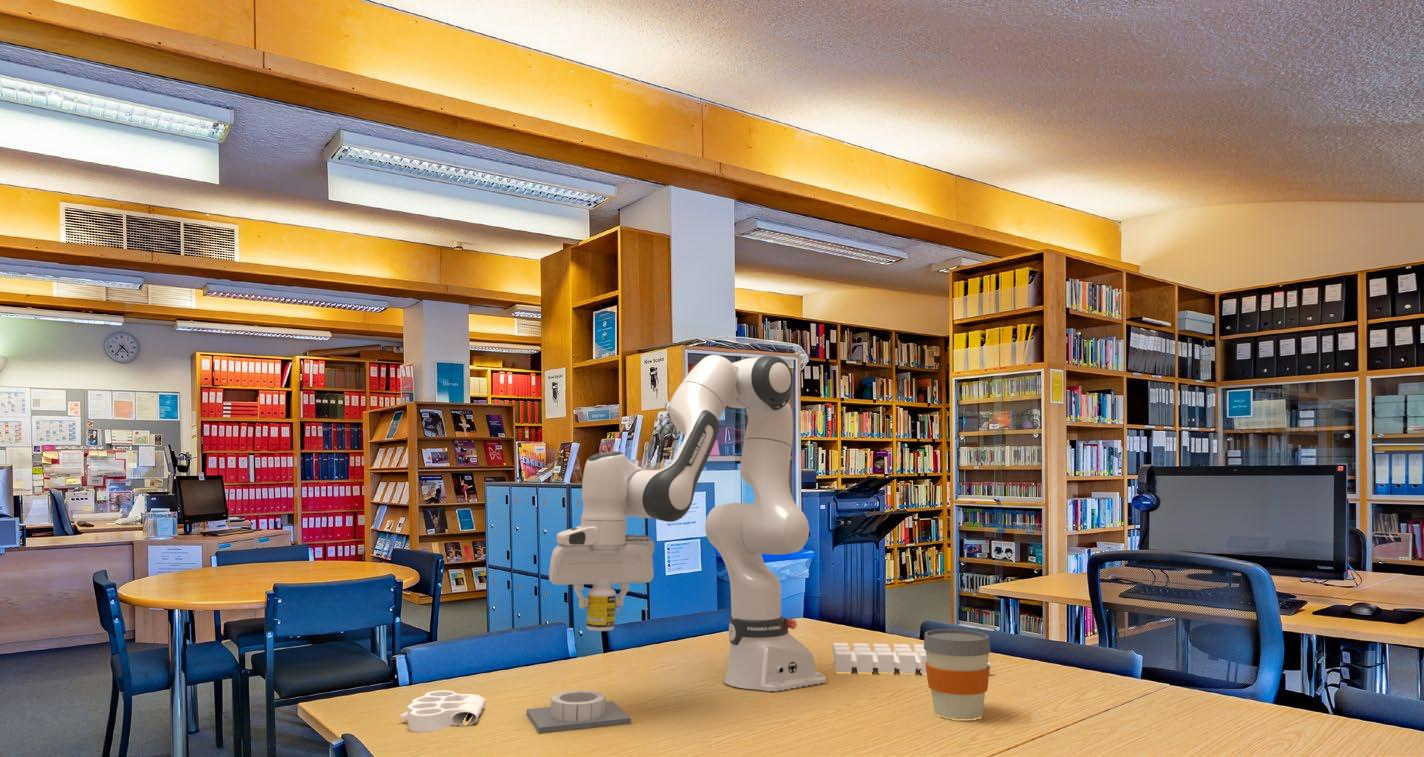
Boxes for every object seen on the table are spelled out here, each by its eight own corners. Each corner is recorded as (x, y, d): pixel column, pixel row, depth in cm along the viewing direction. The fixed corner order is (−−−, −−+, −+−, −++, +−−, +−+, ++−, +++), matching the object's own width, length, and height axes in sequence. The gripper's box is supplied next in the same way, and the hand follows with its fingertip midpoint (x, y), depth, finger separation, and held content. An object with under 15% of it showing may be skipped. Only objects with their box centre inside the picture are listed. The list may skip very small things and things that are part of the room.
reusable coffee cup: (993, 709, 177) (991, 631, 178) (991, 726, 165) (989, 643, 166) (928, 703, 181) (926, 627, 182) (921, 720, 169) (919, 638, 170)
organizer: (833, 642, 219) (979, 645, 216) (833, 663, 219) (980, 666, 216) (835, 654, 206) (991, 657, 203) (836, 675, 206) (992, 678, 203)
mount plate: (612, 705, 178) (613, 685, 179) (631, 723, 166) (631, 701, 167) (526, 714, 172) (527, 693, 173) (539, 733, 160) (539, 710, 161)
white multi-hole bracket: (474, 732, 162) (390, 735, 160) (487, 706, 180) (411, 708, 178) (474, 713, 162) (390, 716, 161) (487, 688, 180) (412, 690, 178)
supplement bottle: (609, 632, 170) (611, 579, 171) (582, 630, 171) (584, 578, 172) (618, 627, 175) (619, 576, 176) (591, 626, 176) (593, 575, 177)
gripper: (649, 533, 182) (647, 603, 180) (548, 534, 174) (545, 607, 173) (659, 535, 176) (657, 608, 174) (555, 536, 169) (552, 611, 167)
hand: (601, 607), depth 174 cm, fingers closed on supplement bottle, 5 cm apart
